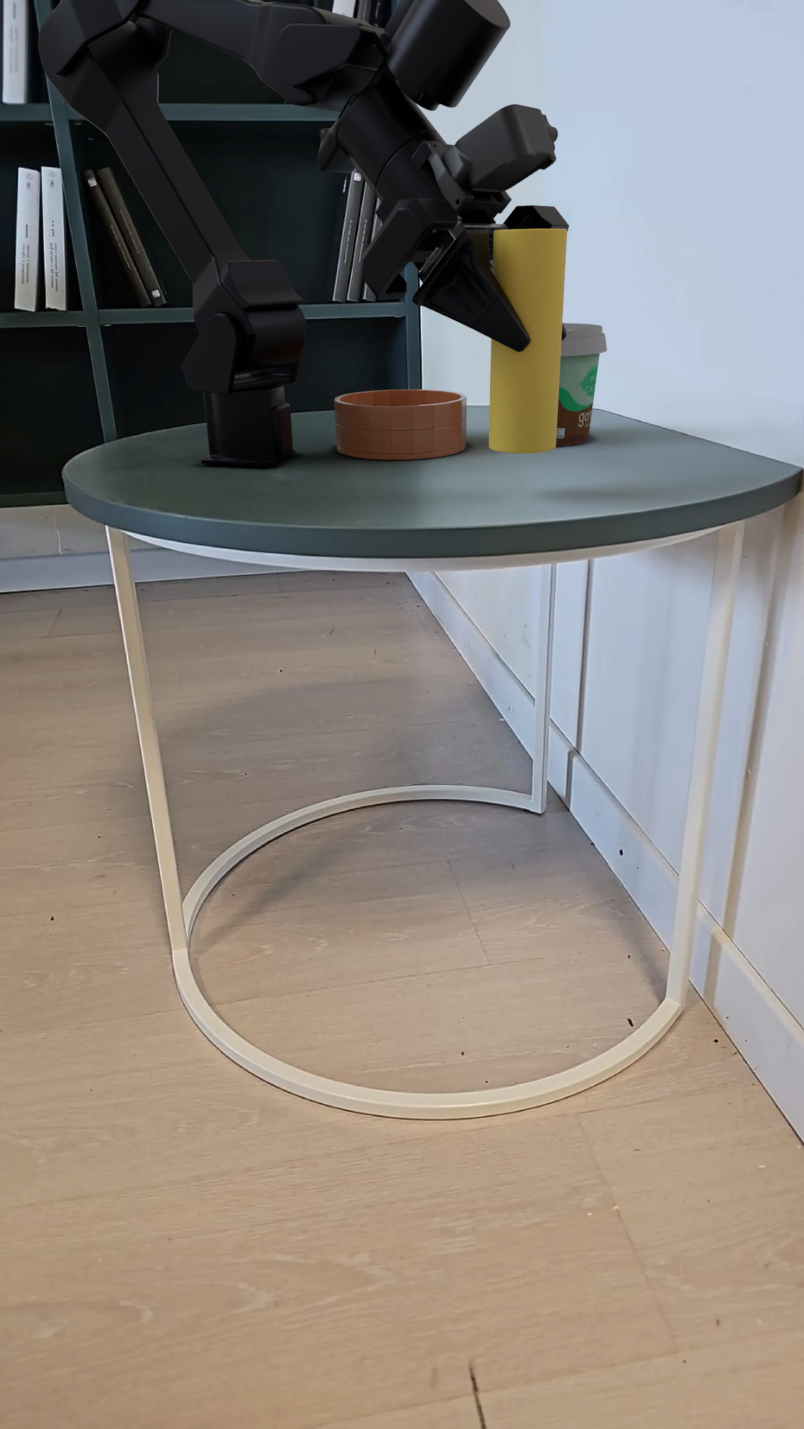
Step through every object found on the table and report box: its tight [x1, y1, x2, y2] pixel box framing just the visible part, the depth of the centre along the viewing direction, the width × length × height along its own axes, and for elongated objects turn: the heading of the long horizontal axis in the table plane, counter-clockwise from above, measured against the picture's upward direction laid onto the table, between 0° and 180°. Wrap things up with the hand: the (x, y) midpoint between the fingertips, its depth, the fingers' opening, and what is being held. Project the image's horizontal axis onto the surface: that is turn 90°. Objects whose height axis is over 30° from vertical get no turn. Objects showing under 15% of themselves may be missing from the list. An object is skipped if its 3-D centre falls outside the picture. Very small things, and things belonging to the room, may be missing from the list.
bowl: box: [333, 388, 468, 461], centre depth 89 cm, size 12×12×4 cm
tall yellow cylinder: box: [488, 229, 568, 454], centre depth 66 cm, size 5×5×14 cm
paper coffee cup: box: [556, 322, 608, 447], centre depth 90 cm, size 12×6×10 cm, turn 168°
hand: (543, 344), depth 65 cm, fingers closed on tall yellow cylinder, 5 cm apart
